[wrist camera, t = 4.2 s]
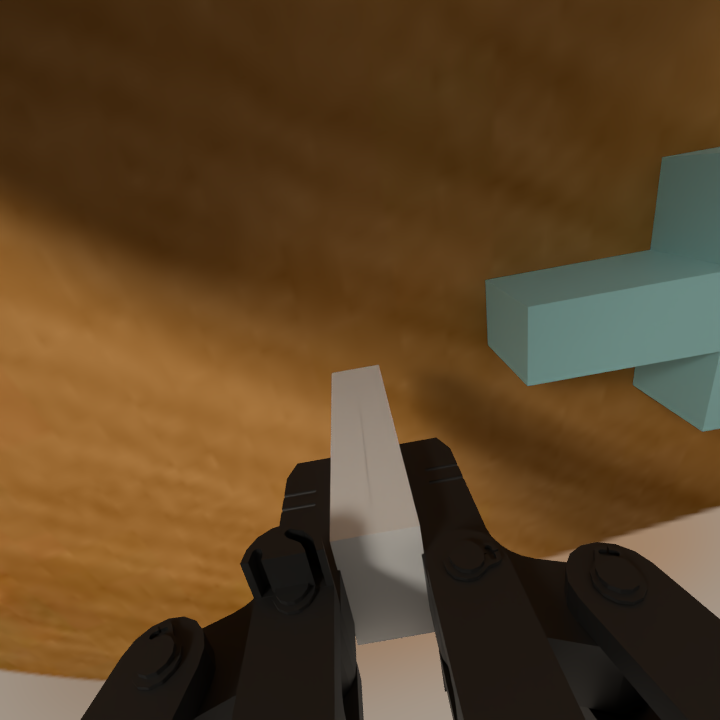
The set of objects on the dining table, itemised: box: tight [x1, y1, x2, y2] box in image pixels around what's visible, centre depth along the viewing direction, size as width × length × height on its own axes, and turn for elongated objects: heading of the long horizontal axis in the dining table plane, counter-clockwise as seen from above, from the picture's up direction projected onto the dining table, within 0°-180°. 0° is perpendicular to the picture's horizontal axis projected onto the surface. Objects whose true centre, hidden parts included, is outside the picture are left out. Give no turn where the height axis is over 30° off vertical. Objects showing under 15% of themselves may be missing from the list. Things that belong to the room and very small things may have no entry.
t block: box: [485, 147, 720, 432], centre depth 16 cm, size 10×10×4 cm
